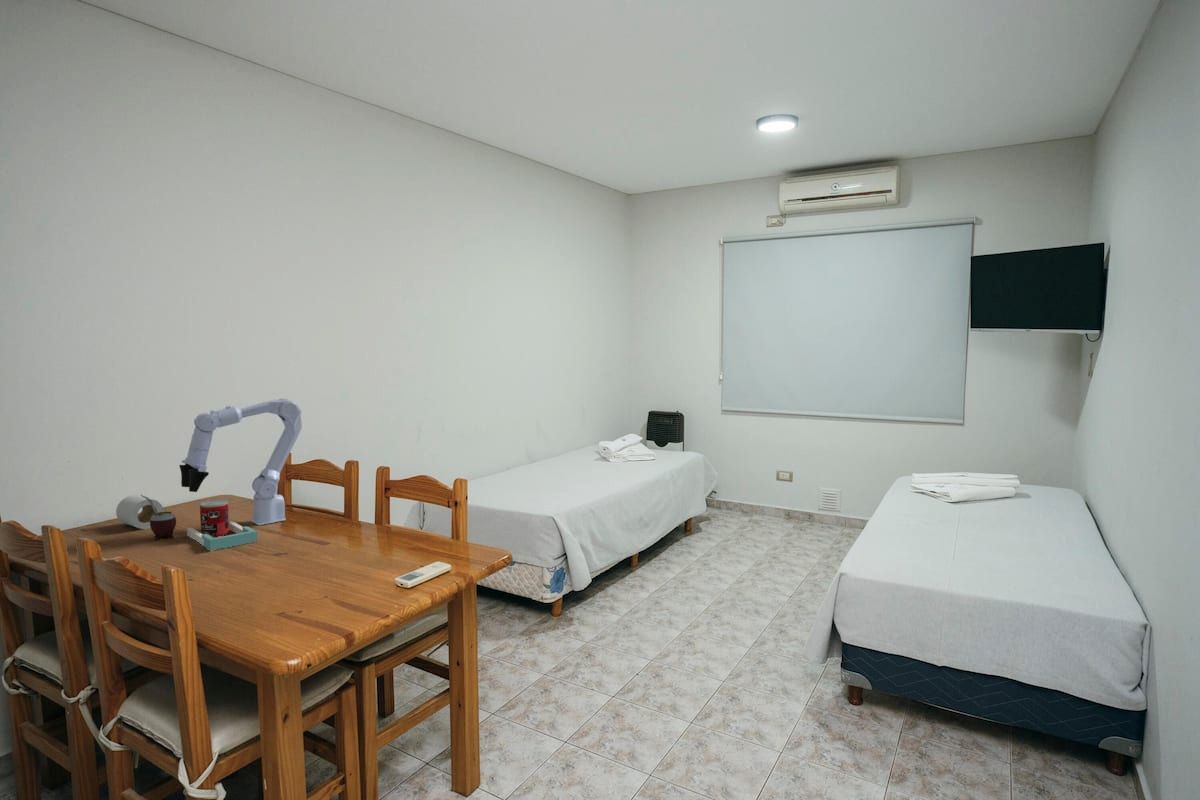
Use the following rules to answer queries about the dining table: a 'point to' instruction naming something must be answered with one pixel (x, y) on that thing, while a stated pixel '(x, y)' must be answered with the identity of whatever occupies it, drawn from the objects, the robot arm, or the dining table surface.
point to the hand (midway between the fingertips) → (189, 489)
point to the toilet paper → (130, 509)
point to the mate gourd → (162, 523)
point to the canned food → (214, 517)
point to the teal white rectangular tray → (225, 537)
